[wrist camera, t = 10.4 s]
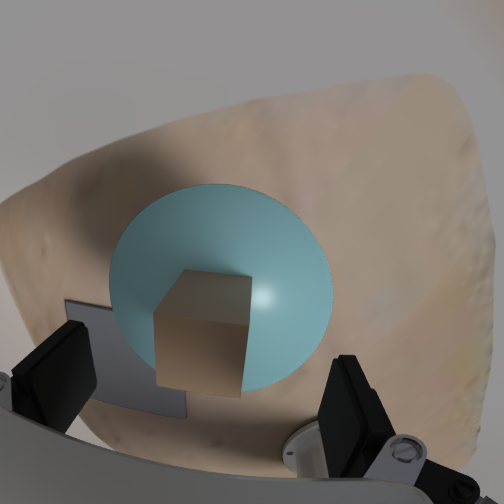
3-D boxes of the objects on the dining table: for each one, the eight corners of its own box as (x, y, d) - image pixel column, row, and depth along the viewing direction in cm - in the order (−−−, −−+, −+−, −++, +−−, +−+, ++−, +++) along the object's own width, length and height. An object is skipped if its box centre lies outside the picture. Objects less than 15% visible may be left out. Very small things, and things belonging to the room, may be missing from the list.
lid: (347, 199, 15) (394, 216, 9) (306, 392, 18) (319, 461, 12) (116, 176, 15) (51, 183, 9) (122, 367, 18) (86, 426, 12)
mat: (184, 319, 28) (183, 322, 27) (186, 416, 31) (185, 419, 31) (67, 300, 28) (65, 301, 27) (86, 393, 31) (84, 396, 31)
